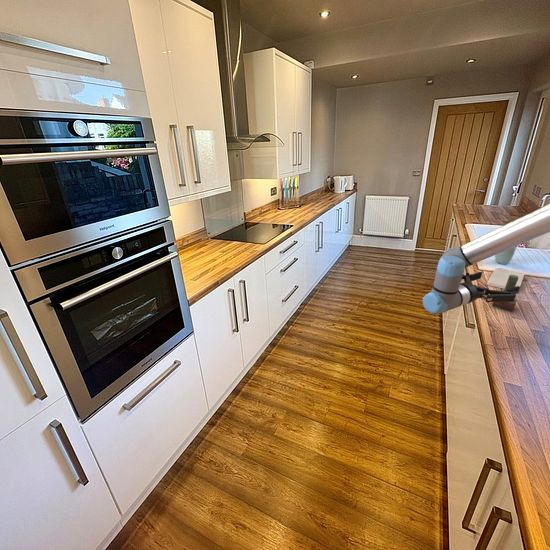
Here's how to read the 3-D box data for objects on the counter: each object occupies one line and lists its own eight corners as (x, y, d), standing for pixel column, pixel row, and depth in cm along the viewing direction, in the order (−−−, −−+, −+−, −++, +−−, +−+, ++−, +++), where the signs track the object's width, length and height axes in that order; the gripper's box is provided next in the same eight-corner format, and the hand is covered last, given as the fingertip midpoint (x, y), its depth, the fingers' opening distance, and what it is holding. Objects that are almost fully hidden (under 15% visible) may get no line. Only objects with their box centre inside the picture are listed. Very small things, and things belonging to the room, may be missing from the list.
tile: (523, 275, 145) (524, 273, 144) (517, 292, 131) (519, 289, 130) (494, 269, 152) (495, 267, 152) (486, 284, 138) (487, 281, 137)
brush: (514, 306, 120) (526, 276, 114) (512, 311, 117) (524, 281, 111) (494, 301, 125) (504, 271, 118) (491, 306, 121) (502, 276, 115)
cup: (512, 266, 156) (518, 248, 151) (495, 264, 158) (500, 247, 154) (507, 260, 162) (513, 243, 158) (491, 259, 165) (496, 242, 160)
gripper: (429, 288, 115) (464, 277, 123) (493, 321, 95) (531, 305, 103) (433, 271, 112) (469, 261, 120) (501, 301, 92) (539, 287, 99)
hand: (498, 281), depth 111 cm, fingers open, 13 cm apart
